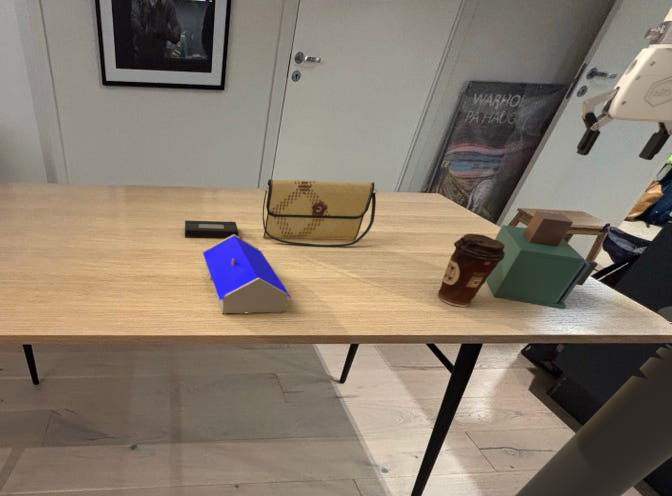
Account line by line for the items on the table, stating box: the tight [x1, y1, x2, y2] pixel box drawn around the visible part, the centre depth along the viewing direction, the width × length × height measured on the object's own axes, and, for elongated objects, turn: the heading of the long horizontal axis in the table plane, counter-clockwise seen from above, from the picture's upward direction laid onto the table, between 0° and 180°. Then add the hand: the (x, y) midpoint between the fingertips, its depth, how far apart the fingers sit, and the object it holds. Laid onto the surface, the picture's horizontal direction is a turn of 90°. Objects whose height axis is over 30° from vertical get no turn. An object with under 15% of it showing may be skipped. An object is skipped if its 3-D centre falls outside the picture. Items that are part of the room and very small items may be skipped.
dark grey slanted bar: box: [559, 252, 599, 303], centre depth 80 cm, size 5×8×8 cm, turn 159°
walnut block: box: [523, 210, 574, 247], centre depth 80 cm, size 5×5×5 cm
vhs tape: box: [184, 219, 239, 239], centre depth 107 cm, size 8×14×2 cm, turn 91°
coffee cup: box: [437, 233, 505, 308], centre depth 78 cm, size 9×8×13 cm
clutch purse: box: [262, 178, 378, 248], centre depth 101 cm, size 30×7×15 cm, turn 91°
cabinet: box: [485, 224, 585, 310], centre depth 85 cm, size 13×16×11 cm
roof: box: [202, 234, 291, 314], centre depth 81 cm, size 22×14×7 cm, turn 7°
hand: (612, 156), depth 72 cm, fingers open, 9 cm apart
